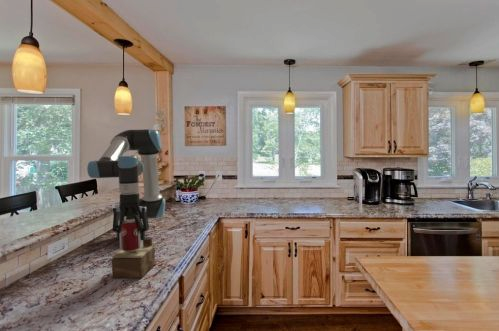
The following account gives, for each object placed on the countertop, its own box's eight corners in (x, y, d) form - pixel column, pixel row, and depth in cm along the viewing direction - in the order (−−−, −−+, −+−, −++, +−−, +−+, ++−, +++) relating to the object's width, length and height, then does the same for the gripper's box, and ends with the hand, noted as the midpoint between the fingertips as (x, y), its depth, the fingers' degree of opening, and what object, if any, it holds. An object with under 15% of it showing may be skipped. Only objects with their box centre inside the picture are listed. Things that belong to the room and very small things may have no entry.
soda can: (120, 253, 117) (119, 223, 117) (123, 247, 124) (122, 219, 124) (140, 250, 119) (138, 221, 119) (141, 245, 126) (140, 218, 126)
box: (129, 265, 132) (128, 247, 131) (155, 265, 131) (154, 247, 130) (112, 278, 118) (111, 259, 117) (141, 278, 117) (140, 259, 116)
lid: (128, 246, 132) (128, 238, 131) (154, 246, 131) (154, 238, 131) (112, 257, 118) (111, 248, 117) (141, 258, 117) (140, 248, 117)
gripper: (100, 194, 117) (103, 250, 119) (149, 194, 116) (151, 250, 117) (110, 192, 125) (113, 244, 126) (156, 191, 124) (158, 244, 125)
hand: (131, 247), depth 122 cm, fingers closed on soda can, 7 cm apart
